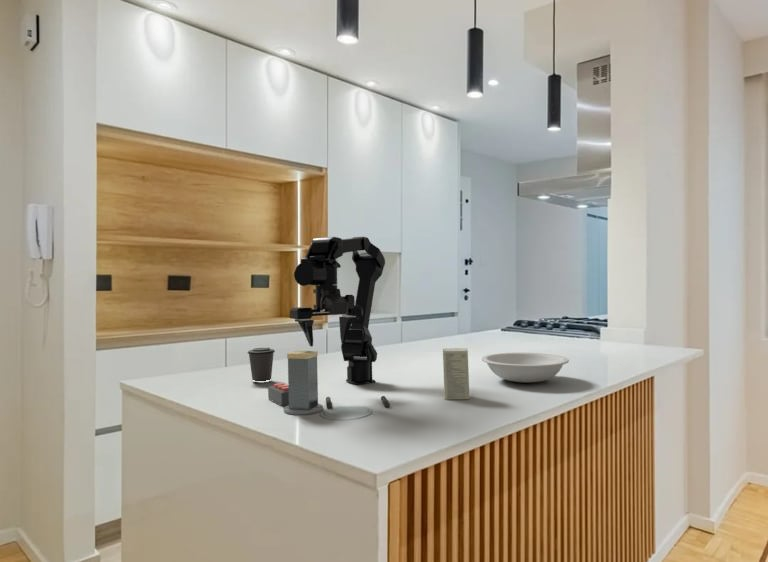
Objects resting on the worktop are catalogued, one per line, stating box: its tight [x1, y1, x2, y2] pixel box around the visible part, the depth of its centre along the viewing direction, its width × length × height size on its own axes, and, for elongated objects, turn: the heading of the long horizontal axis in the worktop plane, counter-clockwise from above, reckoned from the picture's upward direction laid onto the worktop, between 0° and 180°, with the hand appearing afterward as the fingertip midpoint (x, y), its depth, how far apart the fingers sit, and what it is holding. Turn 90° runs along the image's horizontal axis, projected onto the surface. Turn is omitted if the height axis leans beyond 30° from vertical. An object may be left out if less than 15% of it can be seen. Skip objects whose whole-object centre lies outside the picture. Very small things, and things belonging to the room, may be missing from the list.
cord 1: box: [325, 396, 332, 409], centre depth 125 cm, size 7×1×1 cm, turn 8°
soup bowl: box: [481, 352, 569, 384], centre depth 149 cm, size 24×24×7 cm
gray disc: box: [283, 403, 324, 416], centre depth 121 cm, size 9×9×1 cm
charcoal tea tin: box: [286, 350, 319, 411], centre depth 121 cm, size 5×5×13 cm
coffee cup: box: [247, 347, 276, 381], centre depth 156 cm, size 8×8×10 cm
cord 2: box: [380, 395, 391, 408], centre depth 125 cm, size 7×1×1 cm, turn 8°
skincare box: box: [442, 347, 470, 400], centre depth 130 cm, size 6×4×12 cm
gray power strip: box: [267, 382, 289, 407], centre depth 130 cm, size 9×4×4 cm, turn 33°
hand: (327, 344), depth 136 cm, fingers open, 9 cm apart
